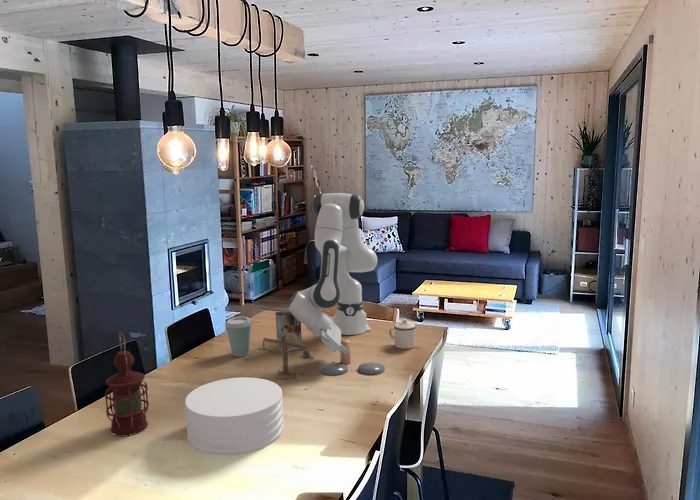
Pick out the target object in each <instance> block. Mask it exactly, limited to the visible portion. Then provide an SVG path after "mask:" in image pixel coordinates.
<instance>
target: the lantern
mask: <svg viewBox="0 0 700 500" xmlns="http://www.w3.org/2000/svg"><path fill="white" fill-rule="evenodd" d="M121 336H122V337H121ZM118 338H119V346H120V348H119V349H120V350H119V351H118V352H117V353H116V354H115V357H114V358H113V359H114V361H113V365H114V367H115V368H117V369H118V372H117V373H115V374H113V375H111V376H109V377H107V379H106V380H105V385H107V386H108V388H107V389H106V390H105V392H104V399H105V406H106V410H105V413H106V417H107V419H108V420H109V421H111V424H110V425H111V429H110V432H112V433H114V434H116V435H130V434H134V433H137V434H139V433H141V432H140V431H142V430H144V429H145V428H146V429H147V428H148V426H147V425H148V424H149V423H148V421H147V411H148V410H149V406H150V403H149V398H148V397H149V396H148V390H149V389H148V388H149V387H148V384H147V383H146V381H144V380H145V377H146V375H145V374H144V373H143V372H140V371H133V370H131V368H132V366H133V365H134V362H135V358H134V356H133V354H132V353H131V352H130V351H128V350H126V339H125V335H124V334H123V332H122V331H120V330H119V331H118ZM122 339H123V344H122ZM122 345H123V347H122ZM143 383H144V384H143ZM141 389H142V392H141ZM108 394H109V396H108ZM142 396H143V399H142ZM145 396H146V399H145ZM108 400H109V402H108ZM142 402H143V409H142ZM108 403H109V404H108ZM108 405H109V406H108ZM109 410H110V412H109ZM110 417H112V418H110ZM146 429H145V430H146ZM145 430H144V431H145ZM138 432H139V433H138ZM142 432H143V431H142ZM112 433H111V434H112ZM116 435H115V436H116ZM134 435H135V434H134Z"/></svg>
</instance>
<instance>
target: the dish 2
mask: <svg viewBox="0 0 700 500" xmlns="http://www.w3.org/2000/svg"><path fill="white" fill-rule="evenodd" d="M385 370H386V367H385V365H383V364H382V363H379V362H365V363H362V364H359V365H358V369H357V371H358V372H359V373H361V374H363V375H372V376H373V375H374V376H375V375H380V374H382V373H384V372H385Z"/></svg>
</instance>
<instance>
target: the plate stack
mask: <svg viewBox="0 0 700 500" xmlns="http://www.w3.org/2000/svg"><path fill="white" fill-rule="evenodd" d="M283 403H284V399H283V390H282V388H281V386H280V385H278V384H277V383H276V382H275V381H271V380H268V379H264V378H258V377H247V376H246V377H244V376H243V377H231V378H230V377H229V378H222V379H219V380H215V381H211V382H208V383H205V384H202V385H200V386H199V387H196V388H195V389H193V390H191V392H190V393H188V394H187V396H186V397H185V401H184V405H185V417H186V418H185V419H186V420H185V422H186V432H187V433H186V434H187V435H186V437H187V442H188V444H189V445H190V447H192V448H193V449H194V450H196V451H198V452H200V453H203V454H206V455H212V456H238V455H243V454H248V453H254V452H256V451H259V450H262V449H264V448H266V447H268V446H271V444H273V443H275V442H277V440H278V439H280V437H281V436H282V435H283V432H284V426H285V425H284V406H283V405H284V404H283Z"/></svg>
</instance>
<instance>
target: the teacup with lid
mask: <svg viewBox="0 0 700 500" xmlns="http://www.w3.org/2000/svg"><path fill="white" fill-rule="evenodd" d="M392 330H394V336H393V334H392ZM388 334H389V336H390V338H391V339H393V340H394V347H395V348H397V349H403V350H408V349H413V348H414V347H415V346H416V325H415V323H412V322H410V321H408V319H407V318H402V321H400V322H397V323H395V324H394V326H393V327H390V328H389V330H388Z"/></svg>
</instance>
